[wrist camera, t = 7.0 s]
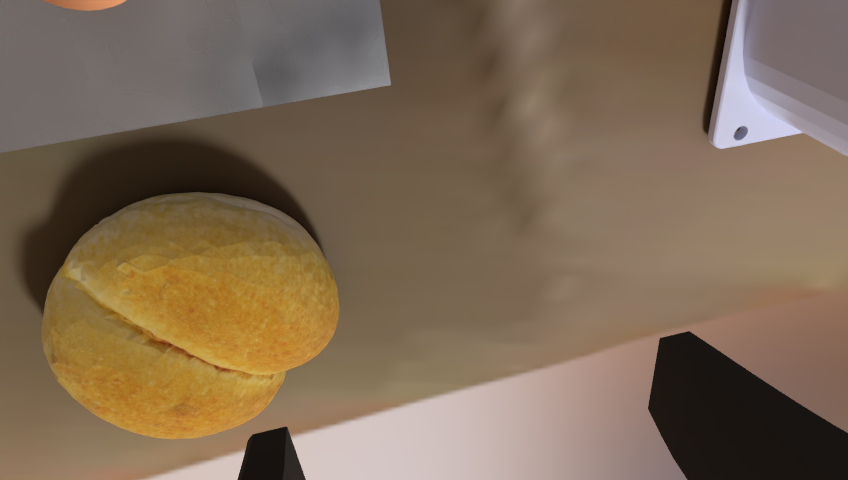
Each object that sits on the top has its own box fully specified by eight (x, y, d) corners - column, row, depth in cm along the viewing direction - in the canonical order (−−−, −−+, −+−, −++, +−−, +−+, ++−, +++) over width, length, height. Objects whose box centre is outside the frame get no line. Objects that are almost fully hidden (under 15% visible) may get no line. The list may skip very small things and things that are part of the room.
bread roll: (377, 261, 22) (396, 337, 18) (225, 411, 24) (219, 502, 21) (166, 121, 17) (143, 187, 14) (7, 320, 20) (-45, 416, 16)
